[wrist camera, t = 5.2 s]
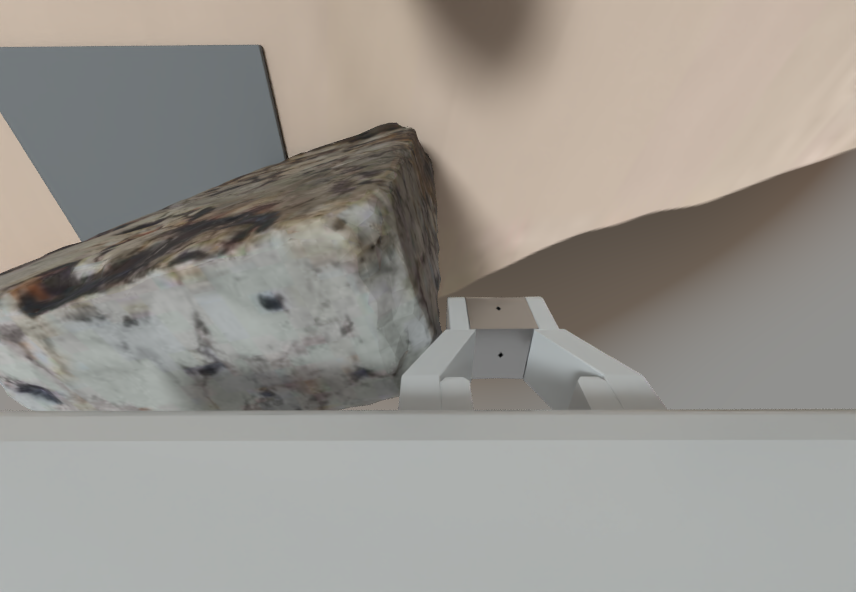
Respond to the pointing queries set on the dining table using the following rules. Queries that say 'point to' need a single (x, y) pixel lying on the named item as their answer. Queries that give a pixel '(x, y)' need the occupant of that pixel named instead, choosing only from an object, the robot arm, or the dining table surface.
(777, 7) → the dining table surface
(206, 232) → the stone block
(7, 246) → the dining table surface
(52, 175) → the mat
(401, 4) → the dining table surface
